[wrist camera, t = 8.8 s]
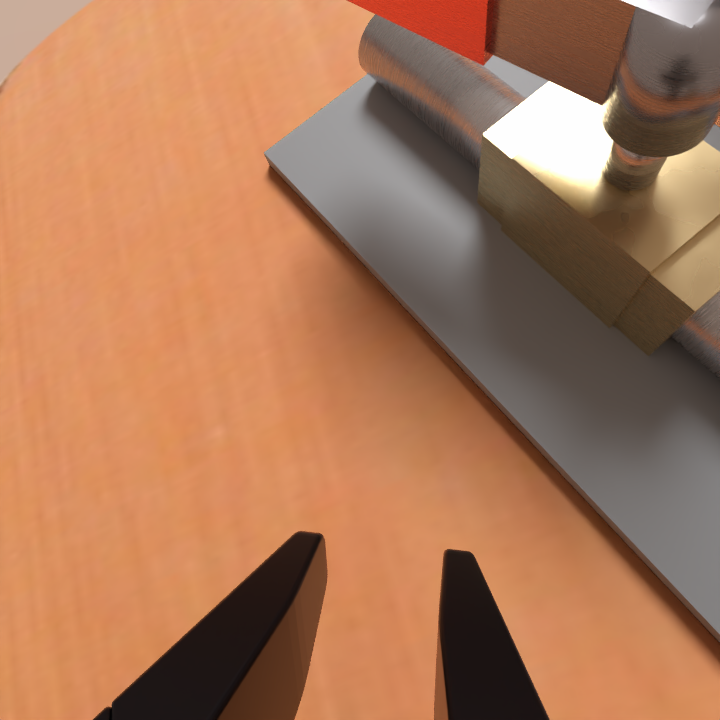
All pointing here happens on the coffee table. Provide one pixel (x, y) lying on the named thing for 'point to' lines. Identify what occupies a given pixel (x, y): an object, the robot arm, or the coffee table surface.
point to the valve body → (574, 191)
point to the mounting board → (524, 329)
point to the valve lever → (594, 56)
